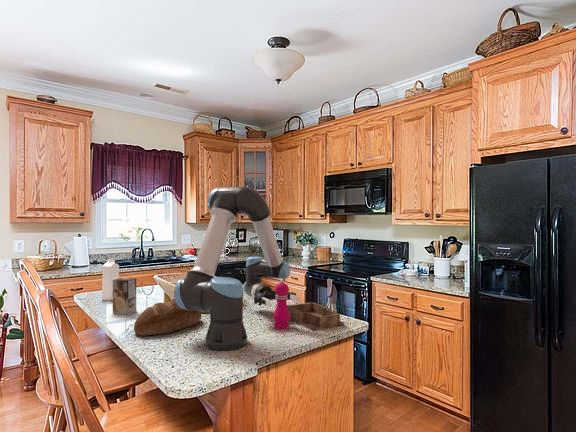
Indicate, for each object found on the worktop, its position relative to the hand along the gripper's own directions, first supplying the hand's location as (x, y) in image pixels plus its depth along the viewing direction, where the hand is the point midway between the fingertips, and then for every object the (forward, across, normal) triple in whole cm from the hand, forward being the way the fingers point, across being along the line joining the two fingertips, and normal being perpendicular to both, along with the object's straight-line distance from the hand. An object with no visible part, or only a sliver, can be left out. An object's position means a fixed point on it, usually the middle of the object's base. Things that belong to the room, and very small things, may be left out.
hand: (284, 301), depth 152 cm
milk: (-94, +59, -11) cm, 112 cm away
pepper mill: (-2, 0, -11) cm, 11 cm away
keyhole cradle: (-4, -17, -11) cm, 20 cm away
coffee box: (-59, +55, -11) cm, 82 cm away
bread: (-24, +41, -11) cm, 49 cm away
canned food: (-64, +32, -11) cm, 72 cm away
